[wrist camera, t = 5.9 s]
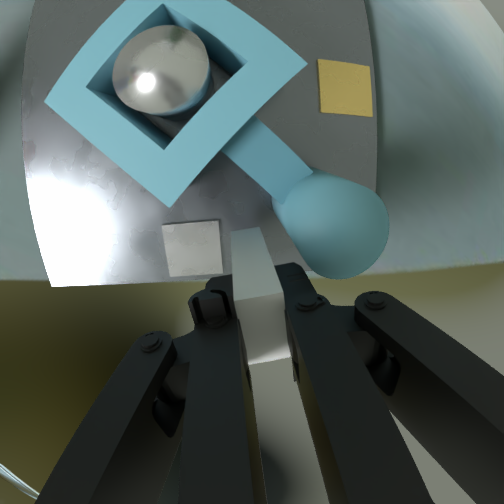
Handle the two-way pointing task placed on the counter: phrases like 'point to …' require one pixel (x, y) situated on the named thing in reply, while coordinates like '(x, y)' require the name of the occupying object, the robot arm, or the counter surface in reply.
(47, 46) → the post plate
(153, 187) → the blue handled square frame
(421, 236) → the counter surface
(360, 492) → the robot arm
